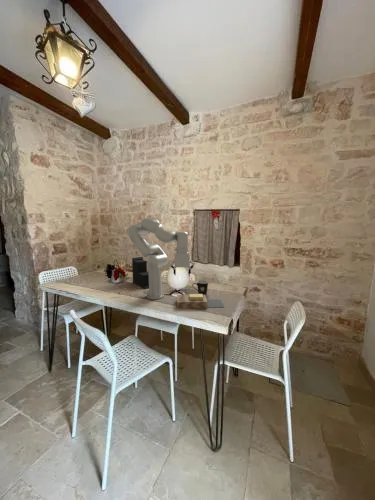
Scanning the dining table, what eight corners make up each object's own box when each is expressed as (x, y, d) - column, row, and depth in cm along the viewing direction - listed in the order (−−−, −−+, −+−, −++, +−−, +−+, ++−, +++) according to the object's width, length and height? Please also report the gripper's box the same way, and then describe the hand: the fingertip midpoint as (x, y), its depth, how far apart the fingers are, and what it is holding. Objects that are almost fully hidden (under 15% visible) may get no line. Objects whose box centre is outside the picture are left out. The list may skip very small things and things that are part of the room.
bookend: (155, 286, 190) (155, 260, 186) (144, 289, 183) (143, 261, 180) (143, 280, 208) (142, 256, 204) (132, 283, 201) (131, 257, 198)
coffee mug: (209, 293, 172) (210, 281, 171) (204, 296, 165) (204, 284, 164) (197, 291, 178) (197, 279, 177) (191, 294, 171) (191, 281, 170)
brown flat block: (177, 307, 145) (177, 302, 144) (177, 300, 158) (177, 294, 158) (207, 307, 145) (207, 301, 144) (205, 299, 159) (205, 294, 158)
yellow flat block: (189, 299, 148) (189, 297, 148) (189, 296, 154) (189, 293, 154) (202, 299, 148) (202, 296, 148) (202, 296, 154) (202, 293, 154)
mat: (207, 307, 145) (207, 307, 145) (205, 299, 159) (205, 299, 159) (224, 307, 145) (224, 307, 145) (220, 299, 159) (220, 299, 159)
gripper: (169, 251, 143) (169, 276, 145) (195, 251, 143) (195, 276, 146) (169, 249, 150) (169, 273, 153) (194, 249, 151) (194, 273, 153)
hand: (182, 274), depth 149 cm, fingers open, 9 cm apart
